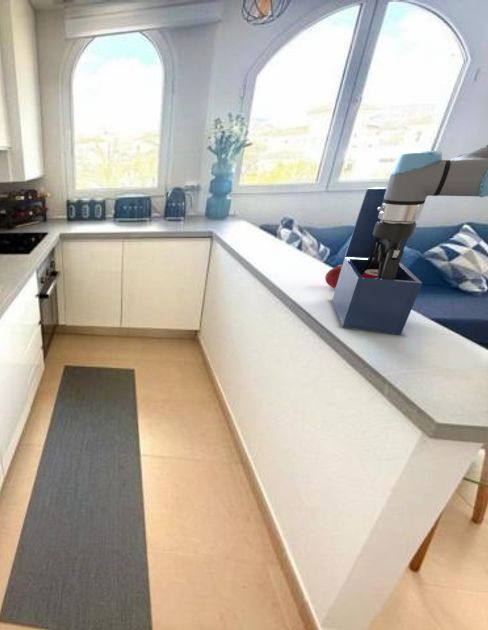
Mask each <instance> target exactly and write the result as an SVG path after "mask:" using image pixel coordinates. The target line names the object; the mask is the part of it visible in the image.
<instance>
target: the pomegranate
mask: <svg viewBox="0 0 488 630" xmlns="http://www.w3.org/2000/svg"><path fill="white" fill-rule="evenodd" d="M342 265H343V264H339V265H337V266H336V267H333V268H331V269H330V270H328V271H327V272H326V274H325V277H324V279H325V282H326V284H327V285H328V286H329V287H330V288H332V289H335V288H336V285H337V282H338V278H339V275H340V272H341V268H342Z"/></svg>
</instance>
